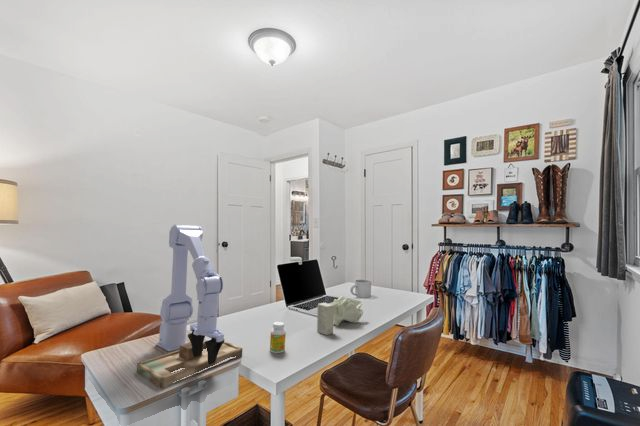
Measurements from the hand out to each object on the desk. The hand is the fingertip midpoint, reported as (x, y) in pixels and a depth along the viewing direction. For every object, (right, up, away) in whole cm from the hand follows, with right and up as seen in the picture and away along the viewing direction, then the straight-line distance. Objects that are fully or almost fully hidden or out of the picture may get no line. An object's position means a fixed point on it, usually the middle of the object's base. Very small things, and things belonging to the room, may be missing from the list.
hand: (204, 359), depth 94 cm
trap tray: (-5, -3, +3) cm, 7 cm away
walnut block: (-6, -1, +4) cm, 7 cm away
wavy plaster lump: (+48, -8, +55) cm, 73 cm away
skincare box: (+38, -7, +39) cm, 55 cm away
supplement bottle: (+20, -5, +17) cm, 27 cm away
